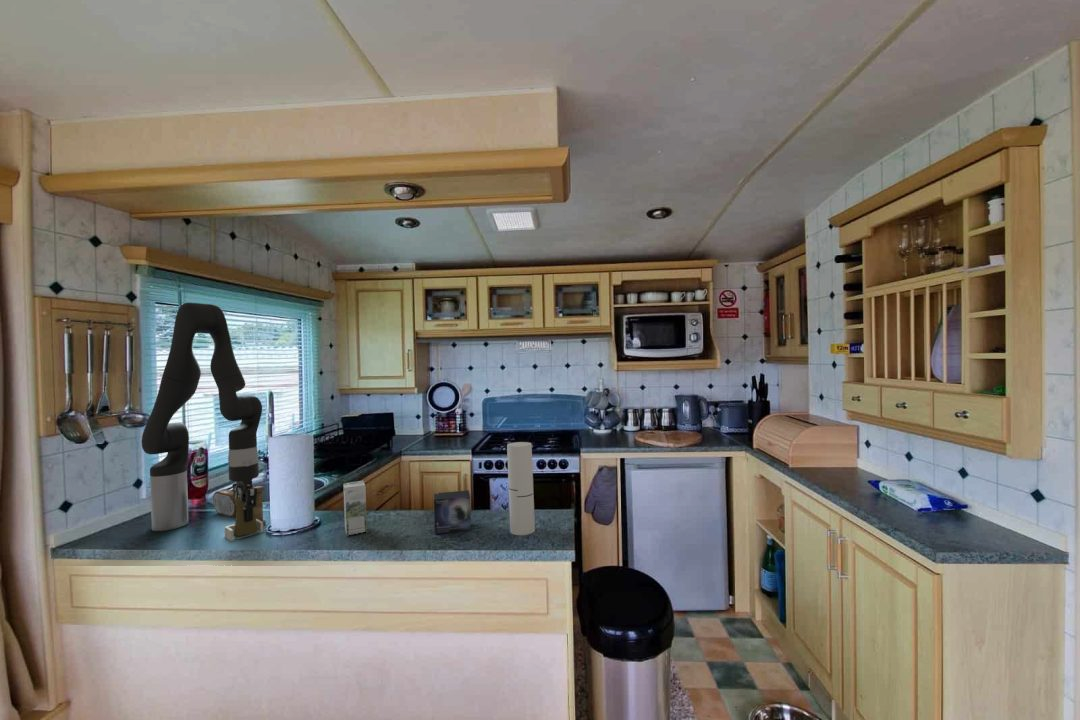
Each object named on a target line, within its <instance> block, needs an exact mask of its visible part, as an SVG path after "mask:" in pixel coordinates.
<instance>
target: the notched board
mask: <svg viewBox="0 0 1080 720" xmlns="http://www.w3.org/2000/svg"><path fill="white" fill-rule="evenodd" d="M256 522H257V527H258V530H257V531H256V532H254V533H251V534H247V535H241V536H237V535H234V531H235V524H230V525H227V526H224V538H226V539H227V540H229V541H230V542H232V541H237V540H239V539H242V538H247V537H251V536H254V535H258V534H261V533H264V526H263V522H262V521H260V520H258V519H256Z"/></svg>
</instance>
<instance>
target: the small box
mask: <svg viewBox="0 0 1080 720" xmlns="http://www.w3.org/2000/svg"><path fill="white" fill-rule="evenodd" d="M433 511H434V512H433V515H434V520H433V521H434V535H445V534H452V533H461V532H464V533H465V532H471V531H472V519H471V514H472V513H471V494H470V491H469V490H468V489H467V490H458V491H446V492H435V493H433Z"/></svg>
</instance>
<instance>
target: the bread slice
mask: <svg viewBox="0 0 1080 720" xmlns="http://www.w3.org/2000/svg"><path fill="white" fill-rule="evenodd" d="M238 496H239V495H238ZM212 500H213V508H214V510H215V512H217V514H219V515H221V516H225V517H228V518H234V517H236V514H237V507H236V506H235V502H234V494H233V490H230V489H226V488H222V489H221V490H217V491H214V493H213V495H212Z"/></svg>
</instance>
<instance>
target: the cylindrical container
mask: <svg viewBox="0 0 1080 720" xmlns="http://www.w3.org/2000/svg"><path fill="white" fill-rule="evenodd" d="M506 448H507V449H506V453H507V455H506V456H507V478H508V479H507V481H508V504H509V507H508V508H509V532H510V534H512V535H514V536H527V535H531V534H533V533H534V532H535V531H536V527H535V526H536V525H535V524H536V523H535V499H534V498H535V497H534V472H533V470H534V468H533V449H532V448H533V446H532V443H531V442H529V441H528V442H527V441H516V442H515V441H514V442H511V443H507V445H506Z"/></svg>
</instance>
